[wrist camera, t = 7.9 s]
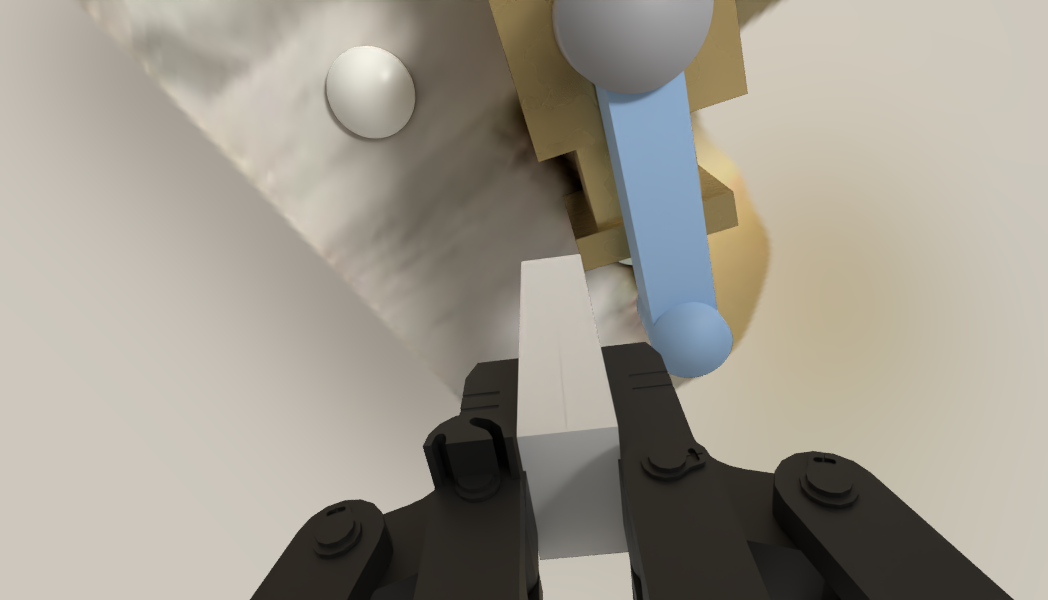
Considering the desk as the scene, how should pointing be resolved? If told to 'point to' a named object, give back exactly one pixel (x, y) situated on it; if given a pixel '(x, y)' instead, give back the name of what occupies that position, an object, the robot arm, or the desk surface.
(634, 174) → the lever
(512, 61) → the valve body
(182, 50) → the desk surface
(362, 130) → the white domed disc
